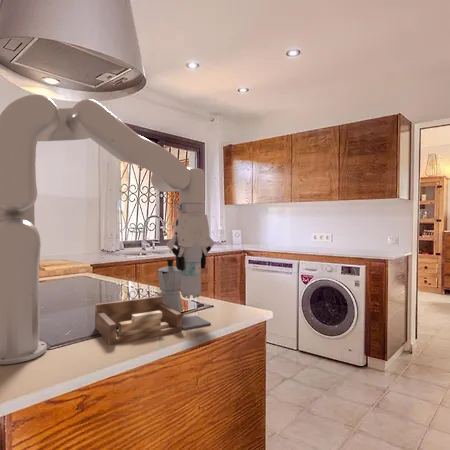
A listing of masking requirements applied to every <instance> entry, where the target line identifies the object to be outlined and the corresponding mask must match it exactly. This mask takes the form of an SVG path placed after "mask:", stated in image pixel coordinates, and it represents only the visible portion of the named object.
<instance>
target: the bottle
mask: <svg viewBox="0 0 450 450" xmlns="http://www.w3.org/2000/svg"><path fill="white" fill-rule="evenodd" d="M182 257H184V270H183V271H181V285H180V289H179V291H180V295H181V296H182V298H187V299H190V298H191V296H192V298H193V299H196V298H200V296H201V294H202V277H201V276H202V272H201V271H202V268H201V258H202V247H199V244H198V243H193V246H192V247H190V248H185V250H184V252H183V254H182Z"/></svg>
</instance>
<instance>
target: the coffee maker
mask: <svg viewBox="0 0 450 450" xmlns="http://www.w3.org/2000/svg"><path fill="white" fill-rule="evenodd" d="M166 262H167V266H163V267H160V268H158V269H157V277H158V285H159V290H160V292H159V295H158V296H162V303H163V304H165V305H167V306H169V307H170V308H172V309H174V310H176V311H178V312H179V313H180V312H181V311H183V306H182V305H183V304H182V299H181V298H182V297H181V296H182V295H181V291H180V288H181V270H178V269H177V267H176V265H175V266H174V258H167V259H166ZM183 312H184V311H183Z"/></svg>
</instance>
